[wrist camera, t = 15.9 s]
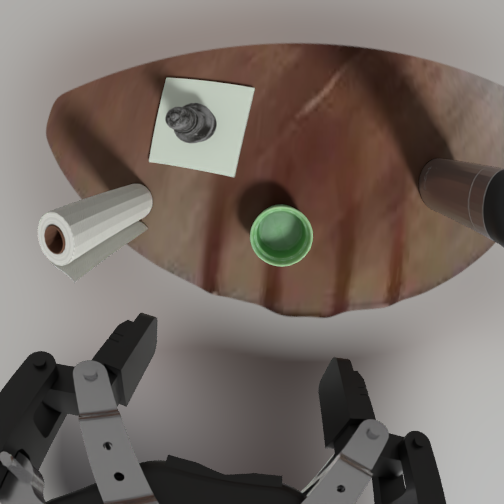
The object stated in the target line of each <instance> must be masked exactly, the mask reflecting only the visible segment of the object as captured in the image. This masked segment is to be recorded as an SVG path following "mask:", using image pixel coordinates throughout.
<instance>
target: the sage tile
mask: <svg viewBox="0 0 504 504" xmlns="http://www.w3.org/2000/svg"><path fill="white" fill-rule="evenodd" d="M254 92H255V88H251V87H246V86H240V85H233V84H227V83H220V82H212V81H203V80H193V79H182V78H166V81H165V85H164V89H163V93H162V97H161V102H160V106H159V111H158V115H157V120H156V125H155V130H154V135H153V140H152V146H151V151H150V157H149V162H155V163H161V164H167V165H173V166H179V167H185V168H190V169H195V170H201V171H206V172H211V173H216V174H221V175H226V176H231V177H235V174H236V169H237V165H238V160H239V156H240V151H241V147H242V142H243V138H244V134H245V129H246V125H247V121H248V116H249V112H250V108H251V104H252V100H253V96H254ZM190 103H199V104H202V105H204V106H206V107H207V108H208V109H209V110H210V111H211V113H213V115H214V116H215V118H216V122H217V126H216V130H215V132H214V134H213V135H212V136H211V137H210V138H209V139H207V140H206V141H203V142H198V143H186V142H184V141H182V140H180V139H179V138H178V137H177V136H176V134H175V133H174V129H172V128H170V127H169V126H168V125H167V123H166V121H165V117H166V114H167V112H168V111H169V110H170V109H172V108H174V107H183V106H185V105H187V104H190Z"/></svg>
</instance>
